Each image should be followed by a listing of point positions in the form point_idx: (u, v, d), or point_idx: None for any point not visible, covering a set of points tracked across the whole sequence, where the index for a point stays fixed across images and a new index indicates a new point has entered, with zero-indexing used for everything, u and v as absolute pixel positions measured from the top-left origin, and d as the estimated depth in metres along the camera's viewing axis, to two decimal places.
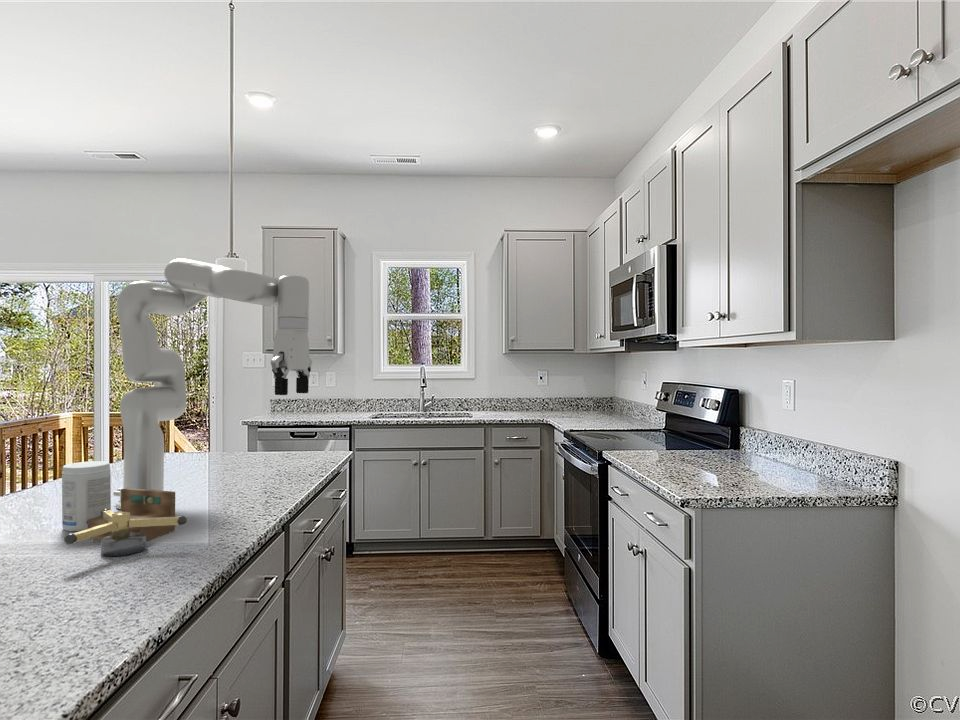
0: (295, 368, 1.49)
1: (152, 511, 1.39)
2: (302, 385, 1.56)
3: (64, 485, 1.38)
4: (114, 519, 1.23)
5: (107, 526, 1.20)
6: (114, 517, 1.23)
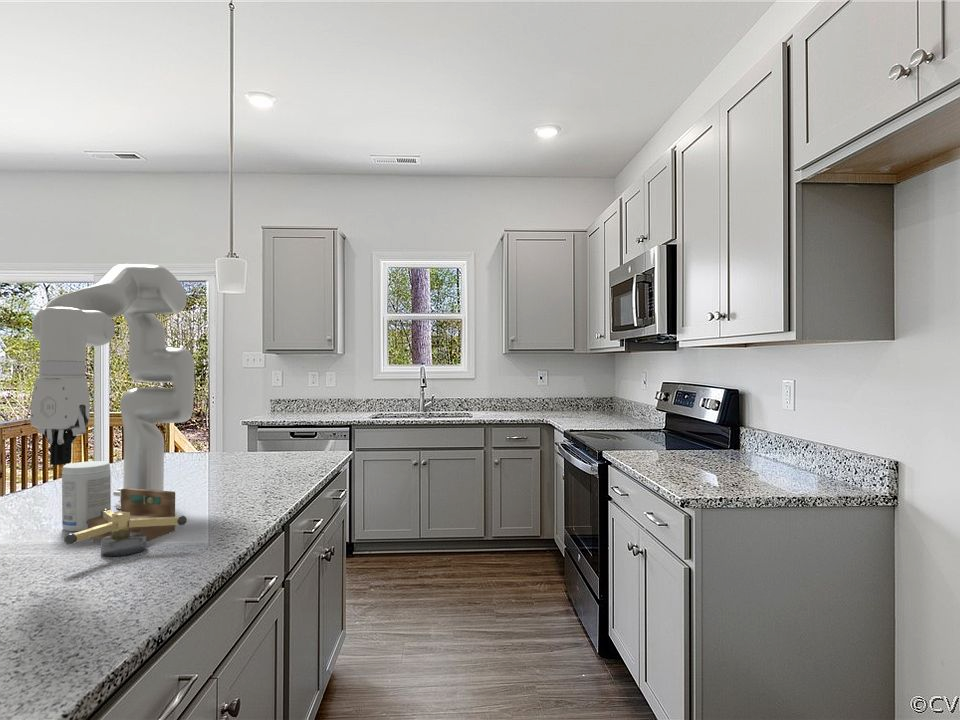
0: None
1: (152, 511, 1.39)
2: None
3: (64, 485, 1.38)
4: (114, 519, 1.23)
5: (107, 526, 1.20)
6: (114, 517, 1.23)
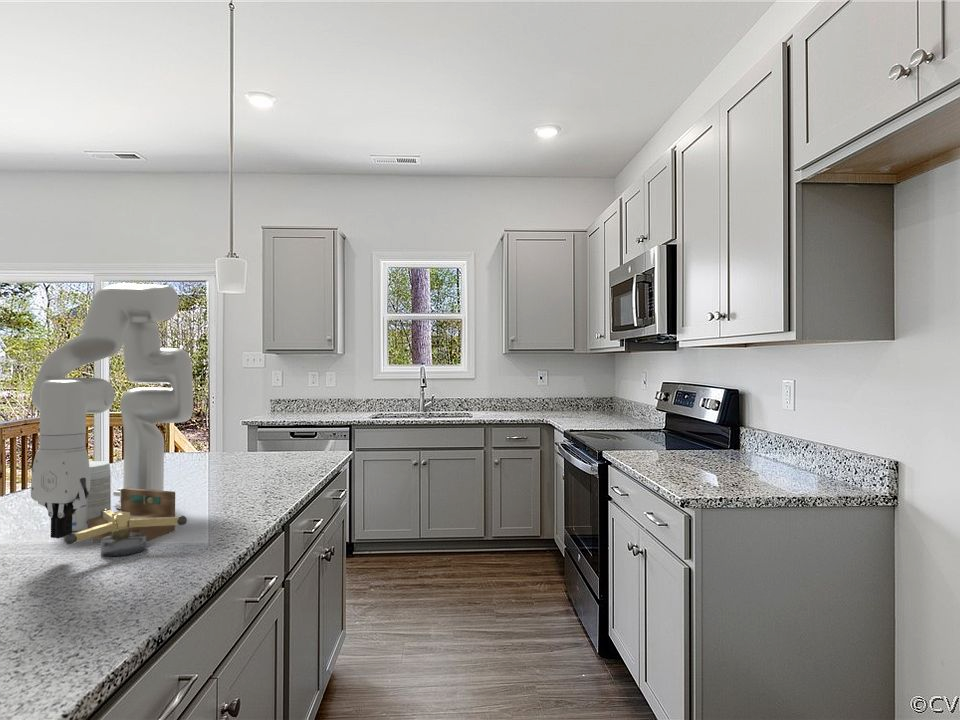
0: None
1: (152, 511, 1.39)
2: None
3: None
4: (114, 519, 1.23)
5: (107, 526, 1.20)
6: (114, 517, 1.23)
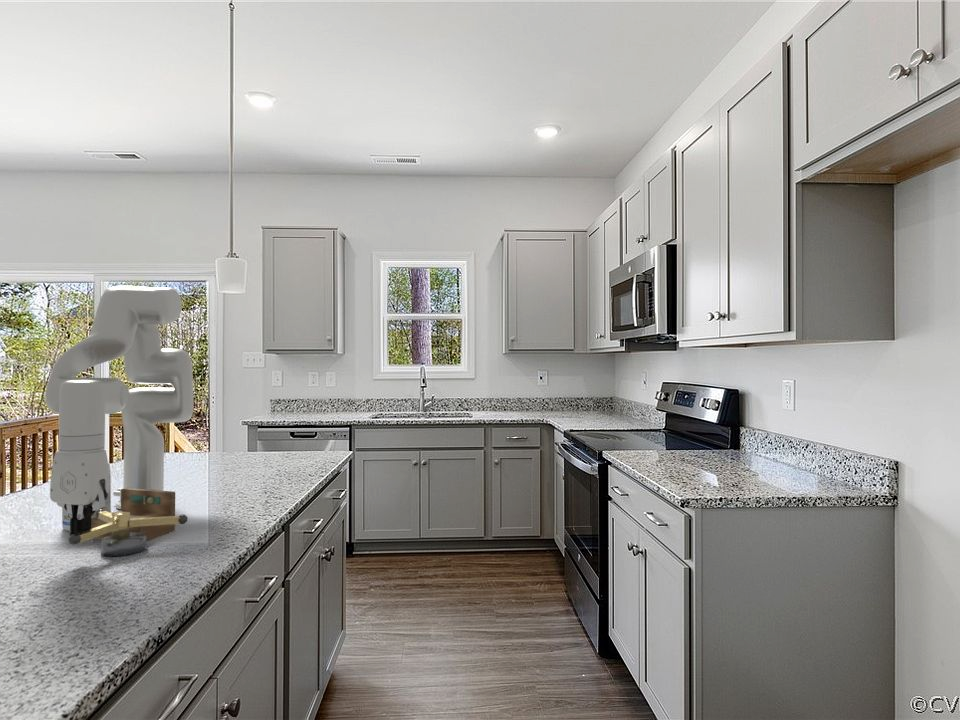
0: None
1: (152, 511, 1.39)
2: None
3: None
4: (115, 519, 1.23)
5: (109, 526, 1.20)
6: (115, 517, 1.23)
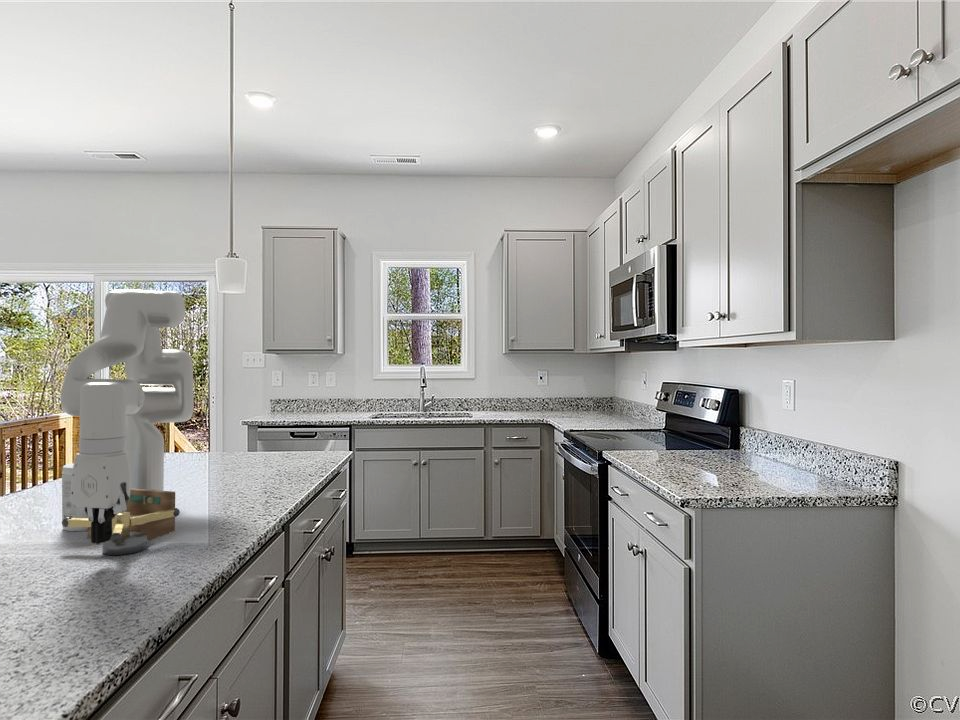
0: None
1: (152, 511, 1.39)
2: None
3: (64, 485, 1.38)
4: (120, 519, 1.23)
5: (123, 525, 1.21)
6: (120, 517, 1.23)
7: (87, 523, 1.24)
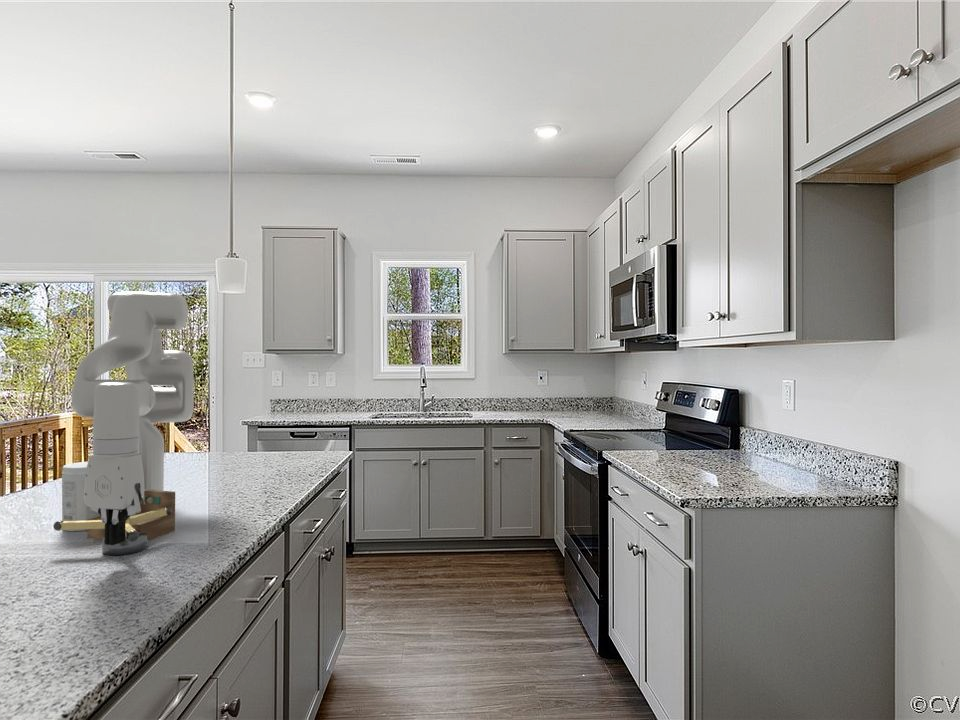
0: None
1: None
2: None
3: (64, 485, 1.38)
4: None
5: None
6: None
7: (83, 525, 1.22)
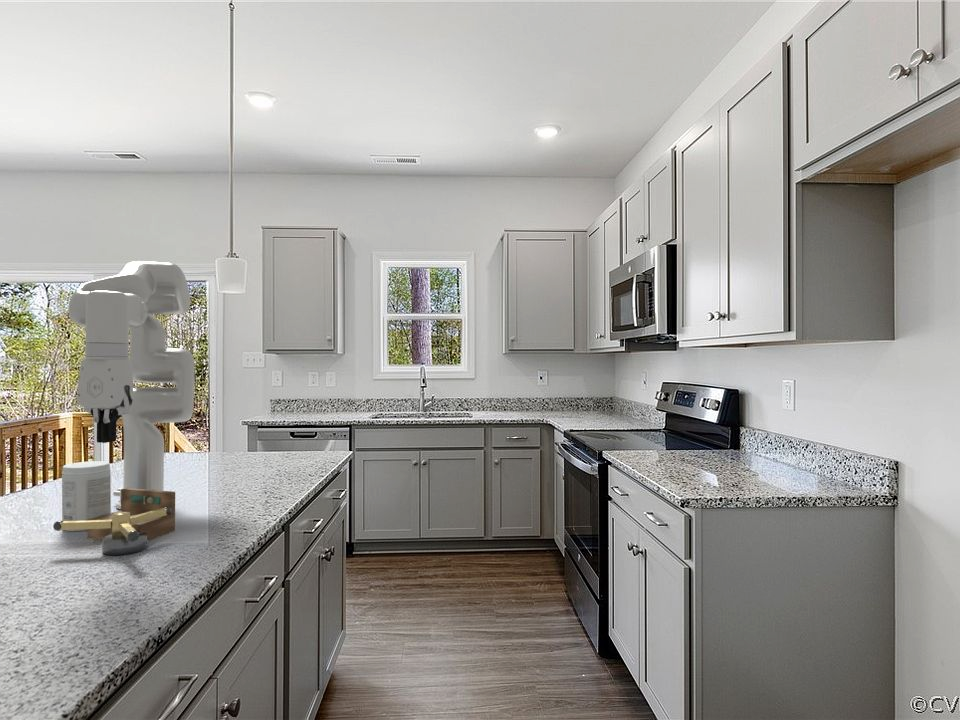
0: None
1: None
2: None
3: (64, 485, 1.38)
4: (123, 519, 1.23)
5: None
6: (122, 517, 1.23)
7: (83, 525, 1.22)
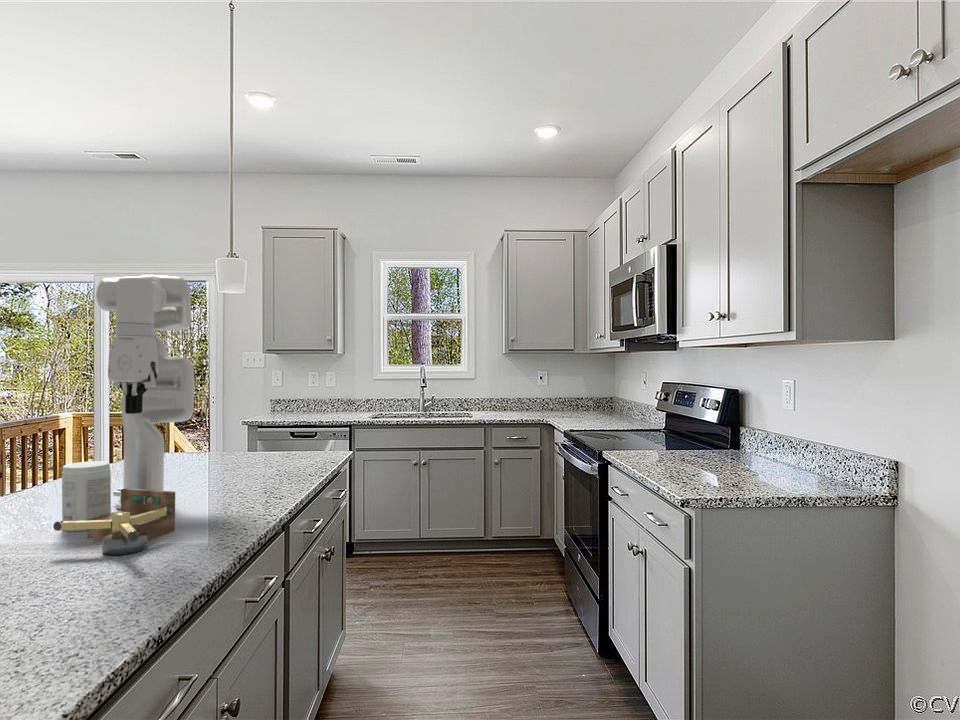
0: None
1: None
2: None
3: (64, 485, 1.38)
4: (123, 519, 1.23)
5: None
6: (122, 517, 1.23)
7: (83, 525, 1.22)
